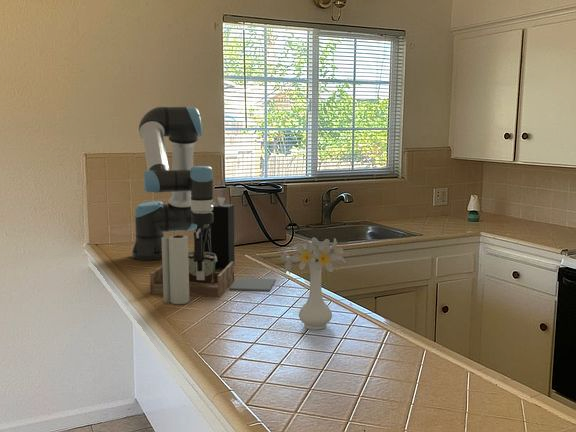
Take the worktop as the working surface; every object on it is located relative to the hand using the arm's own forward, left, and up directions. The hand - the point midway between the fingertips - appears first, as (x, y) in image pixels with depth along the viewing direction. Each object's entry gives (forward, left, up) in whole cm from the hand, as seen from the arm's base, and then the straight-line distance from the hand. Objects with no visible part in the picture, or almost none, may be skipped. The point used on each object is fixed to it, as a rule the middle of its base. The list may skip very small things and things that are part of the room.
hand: (203, 276), depth 211 cm
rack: (0, -3, -4) cm, 5 cm away
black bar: (-30, 0, -4) cm, 30 cm away
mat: (-5, +17, -4) cm, 18 cm away
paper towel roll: (+18, -3, -4) cm, 19 cm away
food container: (0, 0, -2) cm, 2 cm away
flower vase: (+37, +42, -4) cm, 56 cm away
